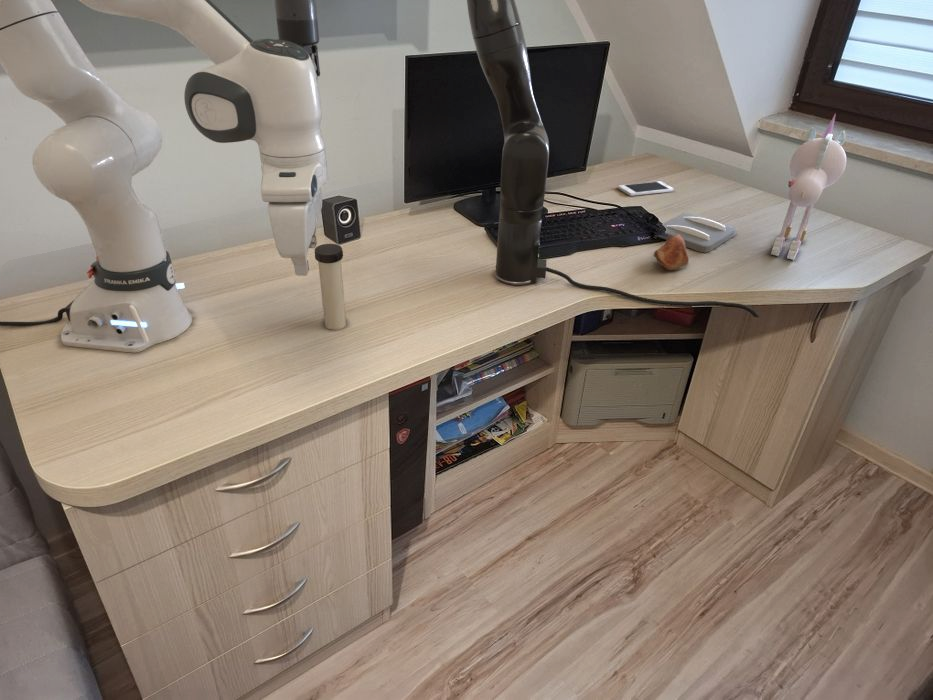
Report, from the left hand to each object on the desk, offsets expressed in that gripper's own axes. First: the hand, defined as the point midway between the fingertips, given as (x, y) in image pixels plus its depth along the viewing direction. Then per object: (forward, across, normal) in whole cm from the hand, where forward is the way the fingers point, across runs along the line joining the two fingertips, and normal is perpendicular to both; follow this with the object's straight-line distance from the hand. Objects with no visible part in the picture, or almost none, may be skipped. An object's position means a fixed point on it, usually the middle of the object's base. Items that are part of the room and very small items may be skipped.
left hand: (307, 259), depth 97 cm
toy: (+24, -60, +115) cm, 132 cm away
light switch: (+24, -62, +89) cm, 112 cm away
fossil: (+24, -45, +76) cm, 92 cm away
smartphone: (+24, -97, +87) cm, 132 cm away
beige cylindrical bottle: (+23, -19, 0) cm, 30 cm away
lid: (+7, -19, 0) cm, 20 cm away
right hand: (-12, -47, -5) cm, 49 cm away
